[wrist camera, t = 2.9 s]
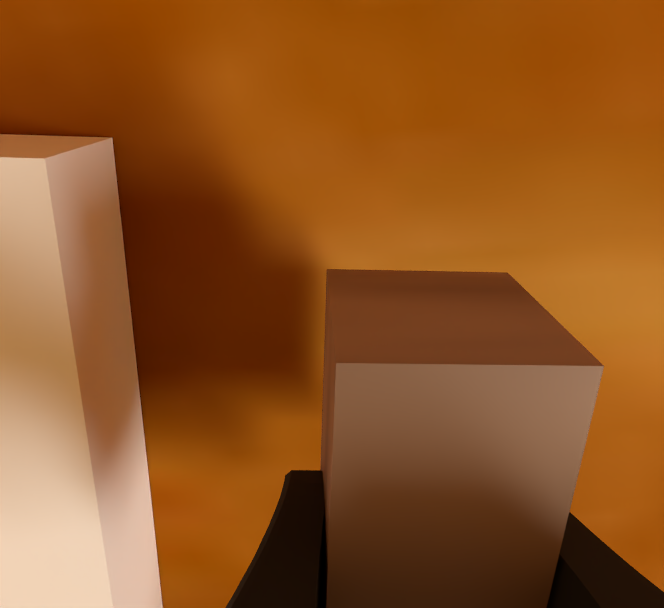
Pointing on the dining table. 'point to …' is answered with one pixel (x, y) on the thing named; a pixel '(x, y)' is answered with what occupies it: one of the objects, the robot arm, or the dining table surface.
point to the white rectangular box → (69, 386)
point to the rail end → (447, 440)
